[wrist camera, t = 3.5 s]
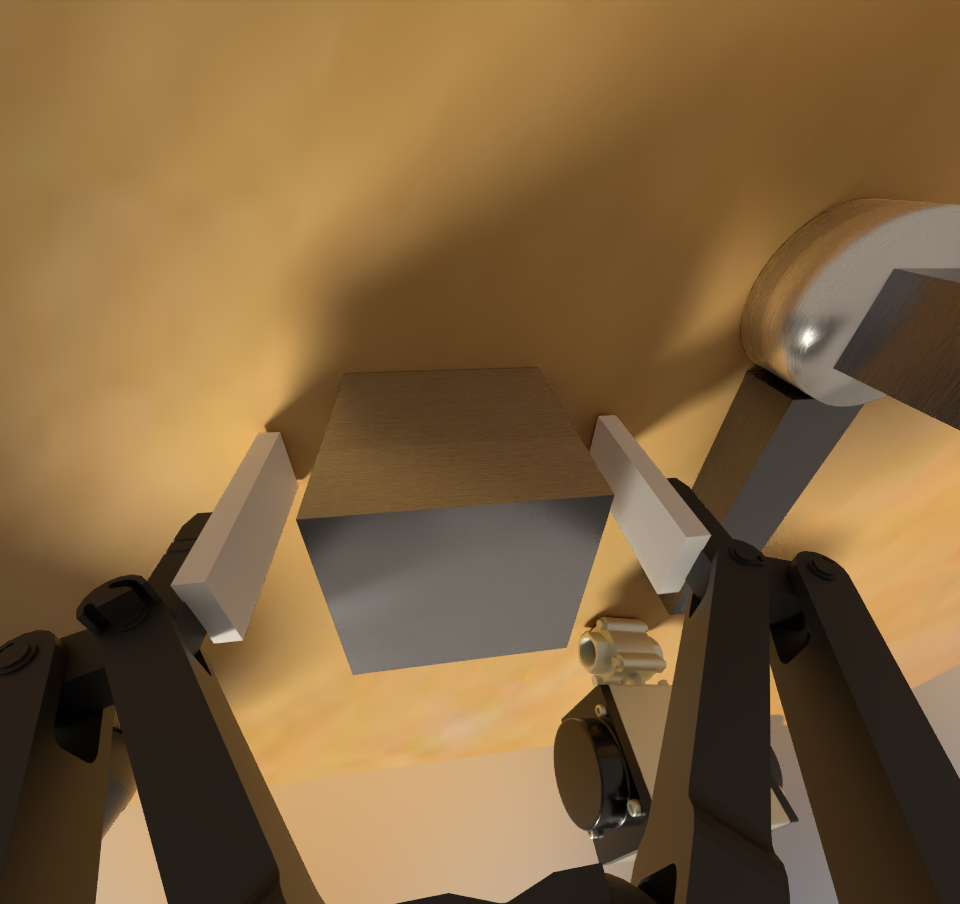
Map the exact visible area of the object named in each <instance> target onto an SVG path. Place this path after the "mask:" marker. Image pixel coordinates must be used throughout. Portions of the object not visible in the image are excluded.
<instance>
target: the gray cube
mask: <svg viewBox="0 0 960 904" xmlns="http://www.w3.org/2000/svg"><path fill="white" fill-rule="evenodd" d="M614 496H615V494H614V493H613V491H612V489H611V488H610V486H609V484H608V483H607V481H606V479H605V478H604V476H603V474H602V473H601V471H600V469H599V468H598V466H597V465H596V463H595V461H594V460H593V458H592V456H591V455H590V453H589V451H588V450H587V448H586V446H585V445H584V443H583V441H582V440H581V438H580V436H579V435H578V433H577V431H576V430H575V428H574V427H573V425H572V423H571V422H570V420H569V418H568V417H567V415H566V413H565V412H564V410H563V408H562V407H561V405H560V403H559V402H558V400H557V398H556V397H555V395H554V393H553V392H552V390H551V389H550V387H549V385H548V384H547V382H546V380H545V379H544V377H543V375H542V374H541V372H540V370H539V369H538V367H536V368H506V369H476V370H447V371H417V372H388V373H358V374H344V376H343V379H342V382H341V385H340V388H339V391H338V394H337V397H336V400H335V403H334V406H333V409H332V412H331V415H330V418H329V421H328V424H327V427H326V430H325V433H324V436H323V439H322V442H321V445H320V448H319V451H318V455H317V458H316V461H315V464H314V467H313V470H312V473H311V476H310V479H309V482H308V485H307V488H306V491H305V494H304V497H303V500H302V503H301V506H300V509H299V512H298V515H297V518H296V521H297V524H298V526H299V529H300V532H301V535H302V537H303V540H304V543H305V545H306V548H307V551H308V554H309V556H310V559H311V562H312V565H313V567H314V570H315V573H316V575H317V578H318V581H319V584H320V586H321V589H322V592H323V595H324V597H325V600H326V603H327V605H328V608H329V611H330V614H331V616H332V619H333V622H334V624H335V627H336V630H337V633H338V635H339V638H340V641H341V644H342V646H343V649H344V652H345V654H346V657H347V660H348V663H349V665H350V668H351V671H352V674H353V675H355V674H363V673H371V672H378V671H386V670H394V669H402V668H410V667H418V666H425V665H433V664H441V663H449V662H457V661H465V660H473V659H480V658H488V657H496V656H504V655H512V654H520V653H528V652H535V651H543V650H551V649H559V648H567V644H568V641H569V638H570V635H571V632H572V629H573V625H574V622H575V619H576V616H577V613H578V610H579V606H580V603H581V600H582V597H583V594H584V591H585V588H586V584H587V581H588V578H589V575H590V572H591V569H592V565H593V562H594V559H595V556H596V553H597V550H598V546H599V543H600V540H601V537H602V534H603V531H604V527H605V524H606V521H607V518H608V515H609V512H610V508H611V505H612V502H613V499H614Z"/></svg>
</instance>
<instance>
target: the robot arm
mask: <svg viewBox="0 0 960 904" xmlns="http://www.w3.org/2000/svg"><path fill="white" fill-rule="evenodd" d="M590 455H591V456H592V458H593V460H594V461H595V463H596V465H597V466H598V468H599V469H600V471H601V473H602V474H603V476H604V478H605V479H606V481H607V483H608V484H609V486H610V488H611V489H612V491H613V493H614V494H615V496H614V499H613V502H612V505H611V508H610V511H611V513H612V514H613V516H614V518H615V520H616V522H617V523H618V525H619V527H620V529H621V530H622V532H623V534H624V536H625V538H626V539H627V541H628V543H629V545H630V546H631V548H632V550H633V552H634V554H635V555H636V557H637V559H638V561H639V562H640V564H641V566H642V568H643V570H644V571H645V573H646V575H647V577H648V578H649V580H650V582H651V584H652V586H653V587H654V589H655V591H656V593H657V594H664V593H673V592H679V591H680V590H681V588H682V586H683V584H684V582H685V581H686V582H687V583H688V585H689V586H690V588H691V589H692V591H691V593H690V595H689V596H688V598H687V600H686V601H685V603H684V605H683V606H682V608H681V610H680V611H683V612H684V611H685V610H686V613H685V619H684V624H683V630H682V635H681V641H680V646H679V652H678V657H677V663H676V668H675V674H674V680H673V685H672V691H671V696H670V702H669V707H668V713H667V718H666V724H665V729H664V735H663V740H662V746H661V752H660V757H659V763H658V768H657V774H656V779H655V785H654V790H653V796H652V801H651V807H650V812H649V818H648V823H647V827H646V830H645V833H644V836H643V838H642V841H641V843H640V845H639V848H638V852H637V855H636V859H635V863H634V868H633V874H632V879H631V883H629V882H627V881H625V880H624V879H621V878H619V877H616V876H614V875H611V874H608V873H604V869H603V865H602V863H598V864H593V865H588V866H583V867H578V868H573V869H568V870H563V871H558V872H553V873H552V874H550V875H549V876H547V877H546V878H544V879H543V880H541V881H540V882H538V883H537V884H535V885H534V886H532V887H531V888H529V889H528V890H526V891H524V892H523V893H521V894H520V895H518V896H517V897H515V898H514V899H512V900H511V901H509V902H507V903H495V902H490V901H486V900H481V899H476V898H471V897H465V896H460V895H455V894H450V893H447V894H442V895H437V896H432V897H427V898H422V899H417V900H412V901H407V902H402V903H397V904H790V894H789V885H788V877H787V874H786V871H785V868H784V864H783V863H782V862H781V860H780V859H779V858H778V856H777V855H776V854H775V852H774V850H773V846H772V837H771V749H770V665H771V669H772V672H773V676H774V679H775V683H776V686H777V690H778V693H779V697H780V700H781V704H782V707H783V711H784V714H785V718H786V721H787V725H788V728H789V732H790V734H791V738H792V742H793V745H794V749H795V752H796V755H797V759H798V763H799V766H800V770H801V773H802V777H803V780H804V783H805V787H806V790H807V794H808V797H809V801H810V804H811V808H812V811H813V815H814V818H815V822H816V825H817V829H818V832H819V835H820V839H821V843H822V846H823V849H824V853H825V856H826V860H827V864H828V867H829V870H830V874H831V877H832V881H833V884H834V888H835V891H836V895H837V898H838V902H839V904H960V778H959V777H958V775H957V773H956V771H955V769H954V768H953V766H952V764H951V762H950V760H949V758H948V757H947V755H946V753H945V751H944V750H943V747H942V745H941V744H940V742H939V740H938V738H937V736H936V734H935V733H934V731H933V729H932V727H931V725H930V723H929V722H928V720H927V718H926V716H925V714H924V712H923V711H922V709H921V707H920V705H919V703H918V701H917V700H916V698H915V696H914V694H913V692H912V690H911V689H910V687H909V685H908V683H907V681H906V679H905V678H904V676H903V674H902V672H901V670H900V668H899V666H898V665H897V663H896V661H895V659H894V657H893V655H892V654H891V652H890V650H889V648H888V646H887V644H886V643H885V641H884V639H883V637H882V635H881V633H880V632H879V630H878V628H877V626H876V624H875V622H874V621H873V619H872V617H871V615H870V613H869V611H868V610H867V608H866V606H865V604H864V602H863V600H862V599H861V597H860V595H859V593H858V591H857V589H856V588H855V586H854V584H853V582H852V580H851V578H850V577H849V575H848V574H847V572H846V571H845V570H844V569H843V568H842V567H841V566H840V565H839V564H837V563H836V562H835V561H833V560H832V559H830V558H828V557H826V556H824V555H821V554H818V553H815V552H808V551H804V552H800V553H798V554H797V555H796V557H795V558H794V559H793V560H792V561H787V560H781V559H776V558H770V557H765V556H764V555H763V554H762V552H760V551H759V550H758V549H757V548H755V547H754V546H752V545H750V544H748V543H746V542H744V541H741V540H737V539H733V538H732V537H731V536H730V535H729V534H728V532H727V531H726V530H725V529H724V528H723V526H722V525H721V524H720V523H719V522H718V521H717V519H716V518H715V517H714V516H713V515H712V513H711V512H710V511H709V510H708V509H707V508H705V505H704V504H703V503H702V502H701V500H700V499H698V497H697V496H696V495H695V493H694V492H693V491H692V490H691V489H690V487H689V486H687V485H686V484H684V483H683V482H681V481H680V480H678V479H677V478H667V479H666V478H665V476H664V475H663V474H662V473H661V471H660V470H659V469H658V468H657V466H656V465H655V464H654V463H653V461H652V460H651V459H650V458H649V456H648V455H647V454H646V453H645V451H644V450H643V449H642V447H641V446H640V445H639V444H638V442H637V441H636V440H635V439H634V437H633V436H632V435H631V434H630V432H629V431H628V430H627V429H626V427H625V426H624V425H623V424H622V422H621V421H620V420H619V419H618V417H617V416H616V415H606V416H598V420H597V424H596V428H595V432H594V436H593V440H592V444H591V448H590ZM297 489H298V484H297V481H296V478H295V475H294V472H293V469H292V466H291V463H290V460H289V457H288V454H287V451H286V448H285V445H284V442H283V439H282V436H281V433H280V432H266V433H258V435H257V436H256V438H255V440H254V442H253V443H252V445H251V447H250V449H249V450H248V452H247V454H246V456H245V457H244V459H243V461H242V462H241V464H240V466H239V468H238V469H237V471H236V473H235V475H234V476H233V478H232V480H231V481H230V483H229V485H228V487H227V488H226V490H225V492H224V494H223V495H222V497H221V499H220V500H219V502H218V504H217V506H216V507H215V509H214V511H213V512H210V513H197V514H196V515H195V516H194V517H193V518H191V519H190V520H189V521H188V522H187V523H186V524H184V525H183V526H182V528H181V529H180V531H179V532H178V534H177V535H176V537H175V539H174V543H171V545H170V546H169V548H168V550H167V551H166V552H167V553H166V554H164V556H163V557H162V559H161V560H160V562H159V564H158V565H157V567H156V568H155V570H154V571H153V573H152V575H151V576H150V578H149V579H148V581H146V580H145V579H144V578H143V577H142V576H137V575H128V576H121V577H118V578H116V579H113V580H110V581H108V582H106V583H104V584H103V585H101V586H99V587H98V588H96V589H94V590H93V591H92V592H91V593H90V594H89V595H88V596H87V597H85V598H84V599H83V601H82V602H81V604H80V605H79V607H78V608H77V613H76V618H77V619H78V620H79V621H80V622H81V623H82V624H83V625H84V626H85V627H86V628H87V630H84V631H81V632H78V633H75V634H72V635H69V636H66V637H63V638H60V639H59V638H58V637H56V636H55V635H54V634H52V633H51V632H50V631H42V630H37V631H33V632H30V633H26V634H23V635H21V636H19V637H16V638H14V639H12V640H10V641H8V642H7V643H5V644H4V645H2V646H1V647H0V904H95V902H96V892H97V881H98V871H99V861H100V850H101V840H102V839H103V837H104V836H105V834H106V833H107V831H108V830H109V829H110V827H111V826H112V825H113V823H114V822H115V820H116V819H117V817H118V816H119V814H120V813H121V812H122V811H123V810H124V809H125V808H126V806H127V805H128V803H129V802H130V801H131V799H132V797H133V795H134V793H135V791H136V789H137V790H138V793H139V797H140V801H141V805H142V808H143V812H144V816H145V820H146V823H147V827H148V831H149V835H150V838H151V842H152V846H153V850H154V853H155V857H156V861H157V864H158V868H159V872H160V876H161V879H162V883H163V887H164V891H165V895H166V898H167V902H168V904H325V903H324V901H323V900H322V898H321V897H320V895H319V893H318V892H317V890H316V888H315V886H314V884H313V882H312V880H311V878H310V876H309V874H308V872H307V869H306V868H305V865H304V863H303V861H302V859H301V857H300V855H299V852H298V850H297V848H296V846H295V844H294V842H293V840H292V838H291V835H290V833H289V831H288V829H287V827H286V825H285V823H284V821H283V818H282V816H281V815H280V812H279V810H278V808H277V806H276V804H275V802H274V799H273V797H272V795H271V793H270V791H269V789H268V787H267V785H266V782H265V780H264V778H263V776H262V774H261V772H260V770H259V768H258V766H257V763H256V761H255V759H254V757H253V755H252V753H251V751H250V749H249V746H248V744H247V742H246V740H245V738H244V736H243V734H242V732H241V729H240V727H239V725H238V723H237V721H236V719H235V717H234V715H233V713H232V710H231V708H230V706H229V704H228V702H227V700H226V698H225V696H224V693H223V691H222V689H221V687H220V685H219V683H218V681H217V679H216V676H215V674H214V672H213V670H212V668H211V666H210V664H209V662H208V660H207V657H206V655H205V653H204V652H203V650H202V649H201V648H200V646H201V644H202V642H203V639H204V637H205V635H206V633H207V635H208V636H209V637H210V639H211V640H212V641H213V643H214V644H215V643H224V642H233V641H242V640H243V639H244V636H245V634H246V631H247V628H248V625H249V623H250V620H251V617H252V614H253V611H254V609H255V606H256V603H257V600H258V597H259V595H260V592H261V589H262V586H263V584H264V581H265V578H266V575H267V572H268V570H269V567H270V564H271V561H272V558H273V556H274V553H275V550H276V547H277V545H278V542H279V539H280V536H281V533H282V531H283V528H284V525H285V522H286V519H287V517H288V514H289V511H290V508H291V506H292V503H293V500H294V497H295V494H296V492H297ZM115 707H116V711H117V715H118V719H119V722H120V726H121V730H122V734H121V733H118V732H116V731H113V719H114V709H115Z"/></svg>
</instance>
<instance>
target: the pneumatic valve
mask: <svg viewBox="0 0 960 904" xmlns="http://www.w3.org/2000/svg"><path fill="white" fill-rule="evenodd" d="M647 631H648V626H647V624H645V623H644V622H643V621H642V620H639V619H626V618H613V617H600V619H599V620H597V622H596V627H595V628H594V629H593V630H592V631H591V632H586V633H585V634H583V635H582V636H581V638H580V640H579V643H578V656H579V660H580V663H581V665H582V666H583V667H584V669H585V670H587V671H588V672H589V673H591V674H594V676H593V677H592V684H593V685H594V686H595V688H594V689H593V690H592V691H591V692H590V693H589V694H588V695H587V696H586V697H585V698H583V699H582V700H581V701H580V702H579V703H578V704H577V705H576V706H575V707H574V708H573V709H572V710H571V711H570V712H569V713H568V714H566V715H565V716H564V717H563V718H562V723H561V725H560V726H559V729H558V731H557V734H556V737H555V743H554V769H555V776H556V781H557V786H558V790H559V793H560V797H561V799H562V802H563V804H564V807H565V809H566V811H567V813H568V814H569V816H570V818H571V819H572V821H573V822H574V823H575V824H576V825H577V826H578V827H579V828H581V829H583V830H585V831H587V834H588V836H589V838H590V839H593V842H594V845H595V849H596V853H597V856H598V860H599V863H602V865H608V864H614V863H621V862H627V861H634V860H635V859H636V855H637V852H638V848H639V845H640V843H641V841H642V838H643V836H644V833H645V830H646V827H647V823H648V818H649V812H650V807H651V801H652V796H653V790H654V785H655V779H656V774H657V768H658V763H659V757H660V752H661V746H662V740H663V735H664V729H665V724H666V718H667V713H668V707H669V702H670V696H671V691H672V685H669V684H668V682H667V680H661V681H659V682H658V685H651V684H645V681H647V680H649V679H650V678H651V677H652V676H653V675H654V674H655V673H661V672H663V670H664V669H665V668H666V661H665V660H664V659H663V653H662V650H661V647H660V645H659V644H658V642H657V641H655V640H654V639H653V638H651V637H650V636H648V635H647V633H646V632H647ZM770 749H771V832H772V831H774V830H777V829H780V828H783V827H785V826H788V825H791V824H794V823H796V822H798V818H797V816H796V814H795V813H794V811H793V809H792V808H791V806H790V804H789V803H788V801H787V799H786V797H785V793H784V791H783V789H782V787H783V781H782V774H781V769H780V765H779V762H778V760H777V757H776V755H775V753H774V751H773V749H772V747H771V746H770Z"/></svg>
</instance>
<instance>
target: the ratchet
mask: <svg viewBox="0 0 960 904" xmlns="http://www.w3.org/2000/svg"><path fill="white" fill-rule="evenodd" d="M741 340H742V345H743V348H744V350H745V352H746V354H747V355H748V357H749V358H750V359H751V360H752V361H753V362H754V363H756V364H757V365H759V366H760V367H762V368H764V369H765V370H767V371H753V372H747V373H746V376H745V378H744V380H743V382H742V384H741V386H740V388H739V390H738V393H737V395H736V397H735V399H734V401H733V403H732V405H731V407H730V410H729V412H728V414H727V416H726V418H725V420H724V422H723V424H722V426H721V429H720V431H719V433H718V435H717V437H716V439H715V441H714V443H713V446H712V448H711V450H710V452H709V454H708V456H707V458H706V460H705V463H704V465H703V467H702V469H701V471H700V473H699V475H698V477H697V480H696V482H695V484H694V486H693V488H692V491H693V492H694V493H695V495H696V496H697V497H698V499H700V500H701V502H702V503H703V504H704V505H705V508H707V509H708V510H709V511H710V512H711V513H712V515H713V516H714V517H715V518H716V519H717V521H718V522H719V523H720V524H721V525H722V526H723V528H724V529H725V530H726V531H727V532H728V534H729V535H730V536H731V537H732V538H733V539H737V540H741V541H744V542H746V543H748V544H750V545H752V546H754V547H755V548H757V549H758V550H759V551H760V552H761V550H762V549H763V547H764V546H765V545H766V543H767V542H768V540H769V539H770V537H771V536H772V535H773V533H774V532H775V530H776V529H777V527H778V526H779V525H780V523H781V522H782V520H783V519H784V517H785V516H786V515H787V513H788V512H789V510H790V509H791V508H792V506H793V505H794V503H795V502H796V500H797V499H798V498H799V496H800V495H801V493H802V492H803V490H804V489H805V488H806V486H807V485H808V483H809V482H810V480H811V479H812V478H813V476H814V475H815V473H816V472H817V470H818V469H819V468H820V466H821V465H822V463H823V462H824V461H825V459H826V458H827V456H828V455H829V453H830V452H831V451H832V449H833V448H834V446H835V445H836V443H837V442H838V441H839V439H840V438H841V436H842V435H843V433H844V432H845V431H846V429H847V428H848V426H849V425H850V424H851V422H852V421H853V419H854V418H855V416H856V415H857V414H858V412H859V411H860V409H861V408H862V406H863V405H864V404H865V403H868V402H872V401H875V400H878V399H880V398H883V397H885V396H888V395H889V396H891V397H893V398H895V399H897V400H899V401H901V402H903V403H905V404H907V405H909V406H911V407H913V408H915V409H917V410H919V411H921V412H923V413H925V414H927V415H929V416H931V417H934V418H936V419H938V420H940V421H942V422H944V423H946V424H948V425H950V426H952V427H954V428H956V429H958V430H960V204H947V203H934V202H921V201H907V200H894V199H881V198H864V199H858V200H853V201H849V202H847V203H844V204H841V205H838V206H836V207H834V208H832V209H830V210H828V211H826V212H824V213H822V214H821V215H819V216H818V217H816V218H814V219H813V220H811V221H810V222H809V223H807V224H806V225H805V226H803V227H802V228H801V229H799V230H798V231H797V232H796V233H795V234H794V235H793V236H791V237H790V238H789V239H788V240H787V241H786V242H785V243H784V244H783V245H782V246H781V247H780V248H779V250H778V251H777V252H776V253H775V254H774V256H773V257H772V258H771V259H770V260H769V262H768V263H767V265H766V266H765V267H764V269H763V270H762V272H761V273H760V275H759V277H758V278H757V280H756V282H755V283H754V285H753V287H752V289H751V292H750V294H749V296H748V298H747V301H746V304H745V307H744V311H743V315H742V320H741ZM691 591H692V589H691V588H690V586H689V585H688V583H687V582H686V581H685V582H684V584H683V586H682V588H681V590H680V591H679V592H673V593H664V594H658V595H659V597H660V599H661V600H662V602H663V604H664V606H665V607H666V609H667V611H668V613H669V615H672V614H681V613H686V610H685V611H684V612H683V611H680V610H681V608H682V606H683V605H684V603H685V601H686V600H687V598H688V596H689V595H690V593H691Z"/></svg>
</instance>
